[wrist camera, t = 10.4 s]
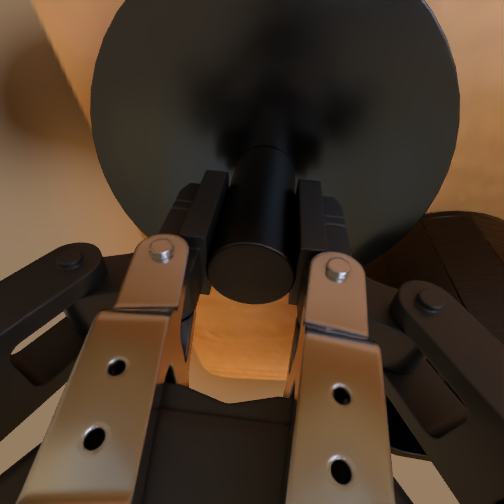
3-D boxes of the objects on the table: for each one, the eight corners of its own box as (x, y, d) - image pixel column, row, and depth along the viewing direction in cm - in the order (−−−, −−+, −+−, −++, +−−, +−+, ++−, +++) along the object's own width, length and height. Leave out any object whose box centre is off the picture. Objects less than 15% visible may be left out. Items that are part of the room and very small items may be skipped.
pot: (568, 198, 17) (766, 362, 10) (496, 330, 25) (574, 470, 18) (330, 222, 19) (350, 364, 12) (335, 334, 27) (349, 457, 21)
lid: (502, -151, 7) (955, -413, 2) (417, 262, 16) (472, 392, 11) (26, 0, 10) (-229, 29, 5) (177, 279, 19) (136, 388, 14)
